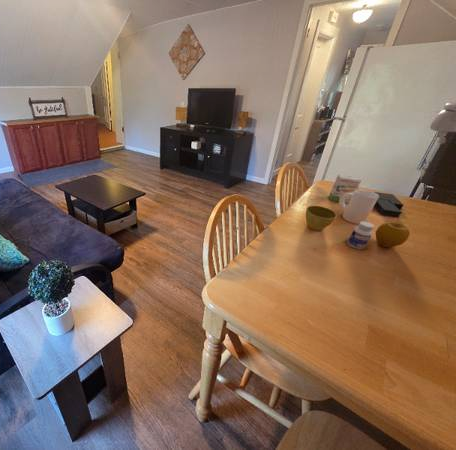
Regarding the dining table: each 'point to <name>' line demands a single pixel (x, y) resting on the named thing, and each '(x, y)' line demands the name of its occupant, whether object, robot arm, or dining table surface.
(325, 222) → the flower pot
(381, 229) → the apple
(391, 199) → the big pad
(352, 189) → the ink box
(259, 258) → the dining table surface
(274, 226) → the dining table surface
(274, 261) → the dining table surface
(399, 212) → the small pad
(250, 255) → the dining table surface
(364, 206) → the mug
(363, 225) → the pill bottle
